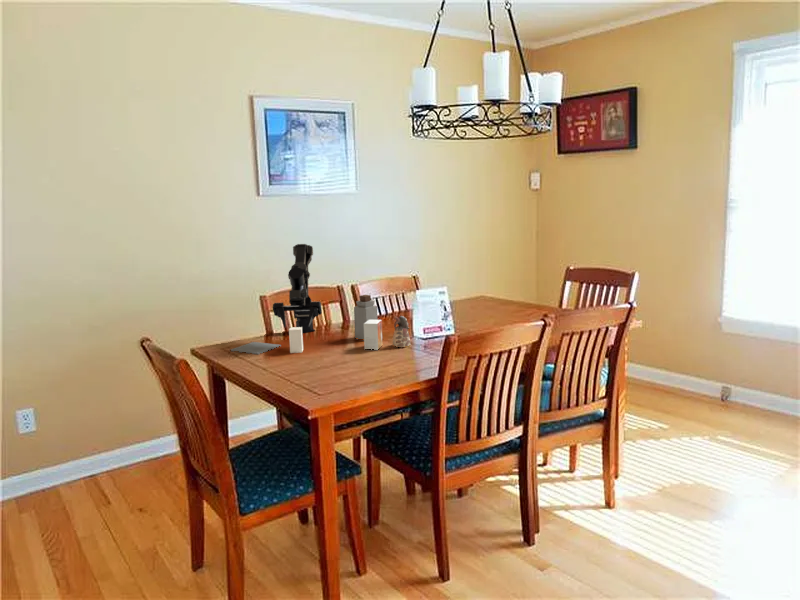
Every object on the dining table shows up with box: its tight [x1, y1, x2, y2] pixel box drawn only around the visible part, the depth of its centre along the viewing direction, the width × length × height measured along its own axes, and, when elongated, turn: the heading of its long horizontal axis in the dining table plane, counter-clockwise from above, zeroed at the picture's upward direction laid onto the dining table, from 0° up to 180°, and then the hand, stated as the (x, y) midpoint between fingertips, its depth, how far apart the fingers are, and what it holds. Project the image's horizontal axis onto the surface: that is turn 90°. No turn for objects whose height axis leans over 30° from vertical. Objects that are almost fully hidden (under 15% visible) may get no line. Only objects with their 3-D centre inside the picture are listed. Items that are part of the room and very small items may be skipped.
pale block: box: [288, 326, 304, 354], centre depth 244 cm, size 4×4×9 cm
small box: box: [363, 319, 384, 351], centre depth 246 cm, size 8×6×10 cm
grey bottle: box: [353, 294, 379, 340], centre depth 261 cm, size 7×7×18 cm
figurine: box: [392, 315, 412, 348], centre depth 248 cm, size 7×7×12 cm
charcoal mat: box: [230, 341, 282, 355], centre depth 250 cm, size 14×14×1 cm
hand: (296, 326), depth 246 cm, fingers open, 9 cm apart
